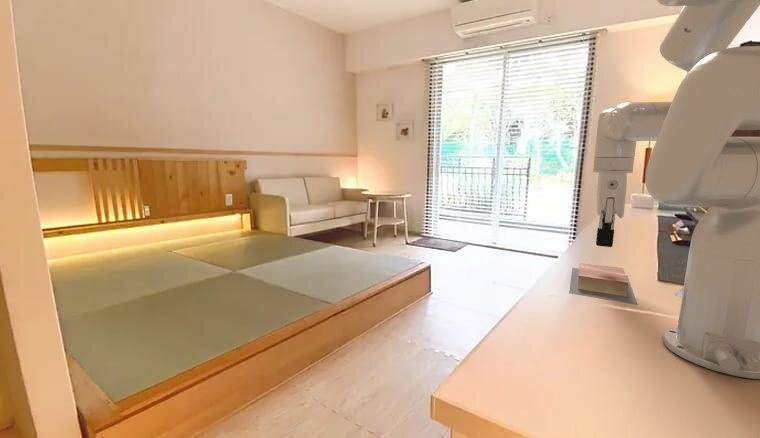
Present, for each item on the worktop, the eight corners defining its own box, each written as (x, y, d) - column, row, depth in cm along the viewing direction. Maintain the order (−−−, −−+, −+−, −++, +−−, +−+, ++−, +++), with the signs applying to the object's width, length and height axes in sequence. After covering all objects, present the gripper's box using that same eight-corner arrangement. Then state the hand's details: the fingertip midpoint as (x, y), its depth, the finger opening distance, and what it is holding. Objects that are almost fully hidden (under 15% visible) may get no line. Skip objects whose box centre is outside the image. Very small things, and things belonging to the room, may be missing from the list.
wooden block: (621, 280, 84) (626, 296, 73) (578, 273, 88) (577, 288, 78) (623, 268, 83) (628, 282, 73) (579, 262, 88) (578, 275, 77)
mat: (637, 306, 69) (637, 304, 69) (568, 295, 75) (569, 292, 75) (626, 277, 87) (627, 275, 87) (572, 269, 93) (572, 267, 93)
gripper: (637, 166, 70) (626, 255, 73) (629, 166, 83) (620, 241, 86) (594, 166, 74) (585, 250, 77) (592, 165, 87) (585, 238, 90)
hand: (603, 245), depth 81 cm, fingers closed
